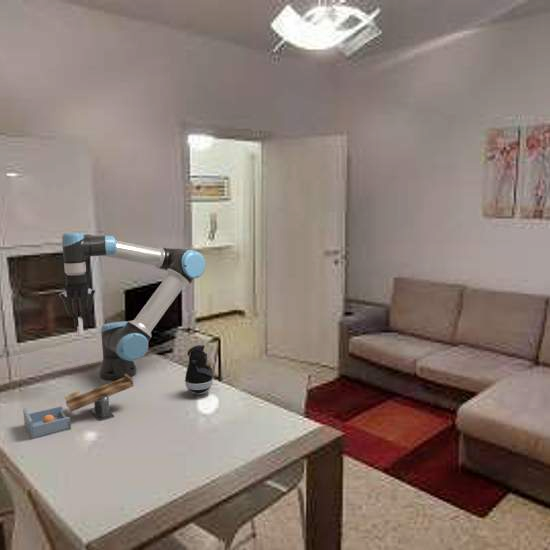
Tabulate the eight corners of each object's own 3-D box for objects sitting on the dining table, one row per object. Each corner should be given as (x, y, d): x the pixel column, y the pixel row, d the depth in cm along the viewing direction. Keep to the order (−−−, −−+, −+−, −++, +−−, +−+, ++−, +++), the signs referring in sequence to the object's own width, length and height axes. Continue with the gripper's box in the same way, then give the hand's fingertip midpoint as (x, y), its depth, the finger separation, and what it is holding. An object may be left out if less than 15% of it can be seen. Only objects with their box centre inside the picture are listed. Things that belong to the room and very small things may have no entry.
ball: (40, 416, 166) (43, 425, 167) (42, 420, 163) (45, 429, 164) (51, 411, 168) (54, 420, 169) (53, 414, 165) (57, 424, 166)
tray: (62, 416, 174) (61, 400, 173) (70, 429, 164) (69, 411, 163) (24, 425, 167) (23, 409, 166) (31, 439, 157) (29, 421, 157)
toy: (211, 399, 187) (209, 348, 184) (183, 399, 188) (180, 348, 185) (215, 388, 198) (213, 340, 195) (188, 388, 198) (186, 340, 195)
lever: (121, 376, 189) (119, 368, 188) (133, 386, 179) (131, 378, 178) (62, 399, 177) (60, 391, 176) (71, 411, 167) (69, 403, 166)
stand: (104, 406, 182) (102, 385, 181) (114, 417, 173) (112, 395, 172) (90, 410, 179) (88, 389, 178) (99, 420, 170) (98, 398, 169)
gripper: (90, 270, 194) (94, 329, 198) (54, 274, 186) (60, 335, 190) (96, 272, 188) (100, 333, 192) (59, 276, 180) (65, 339, 184)
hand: (80, 333), depth 191 cm, fingers closed
